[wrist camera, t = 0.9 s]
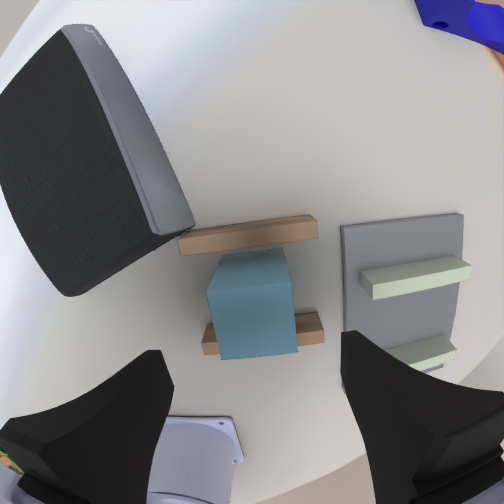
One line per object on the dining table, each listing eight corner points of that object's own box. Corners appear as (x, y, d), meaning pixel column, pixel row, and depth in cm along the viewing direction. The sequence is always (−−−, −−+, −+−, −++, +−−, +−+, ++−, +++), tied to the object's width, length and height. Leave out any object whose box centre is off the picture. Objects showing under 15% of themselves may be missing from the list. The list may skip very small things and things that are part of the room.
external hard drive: (102, 21, 15) (78, 1, 11) (207, 220, 19) (192, 232, 15) (4, 116, 17) (-25, 114, 13) (80, 295, 21) (53, 316, 17)
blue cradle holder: (497, 21, 12) (530, 6, 6) (510, 58, 13) (548, 46, 7) (407, -13, 13) (436, -46, 7) (422, 26, 14) (460, -4, 8)
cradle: (210, 335, 21) (204, 355, 18) (187, 231, 19) (177, 239, 16) (317, 324, 20) (324, 342, 18) (309, 214, 18) (316, 220, 16)
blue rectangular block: (232, 309, 20) (221, 359, 14) (222, 255, 19) (205, 291, 13) (288, 303, 20) (297, 352, 14) (282, 248, 19) (291, 281, 13)
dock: (342, 387, 22) (350, 414, 19) (340, 226, 18) (355, 237, 15) (439, 362, 21) (455, 382, 18) (457, 213, 18) (483, 221, 14)
